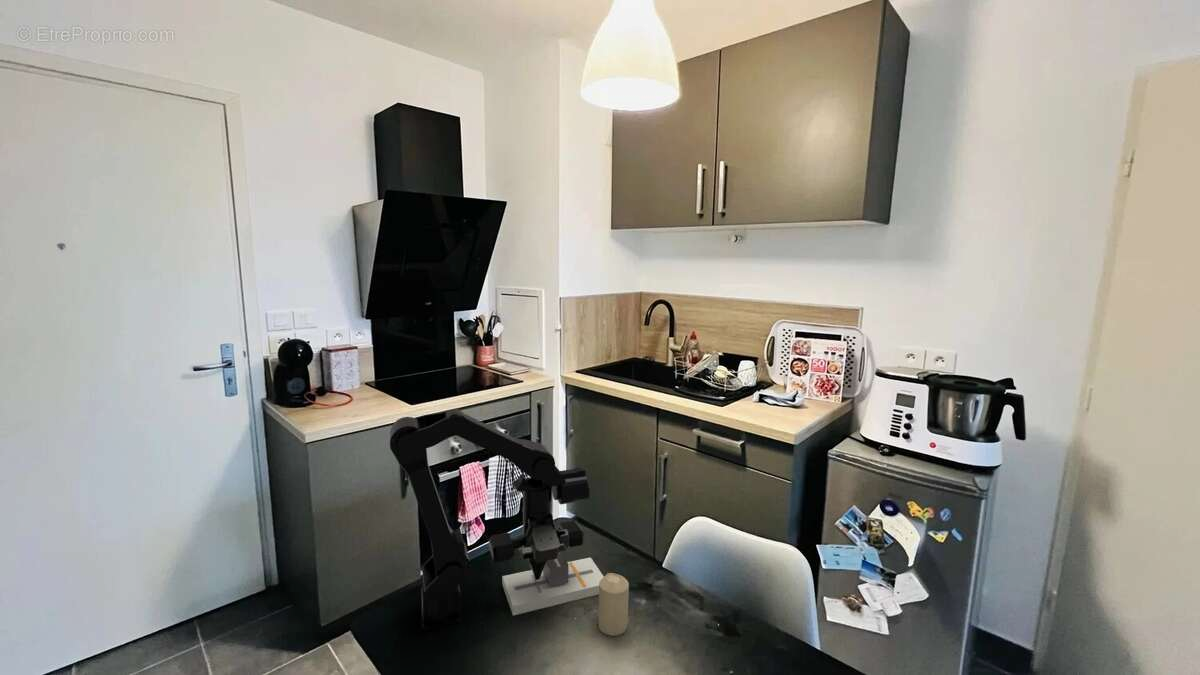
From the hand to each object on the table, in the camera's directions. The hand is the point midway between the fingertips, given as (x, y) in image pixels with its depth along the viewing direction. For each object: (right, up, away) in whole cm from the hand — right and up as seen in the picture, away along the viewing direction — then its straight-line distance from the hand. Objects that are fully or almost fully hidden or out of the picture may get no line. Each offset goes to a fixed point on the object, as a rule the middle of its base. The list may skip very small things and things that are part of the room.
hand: (536, 578), depth 101 cm
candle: (+15, -5, -9) cm, 18 cm away
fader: (+4, -1, +2) cm, 4 cm away
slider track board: (+4, -3, +2) cm, 5 cm away
